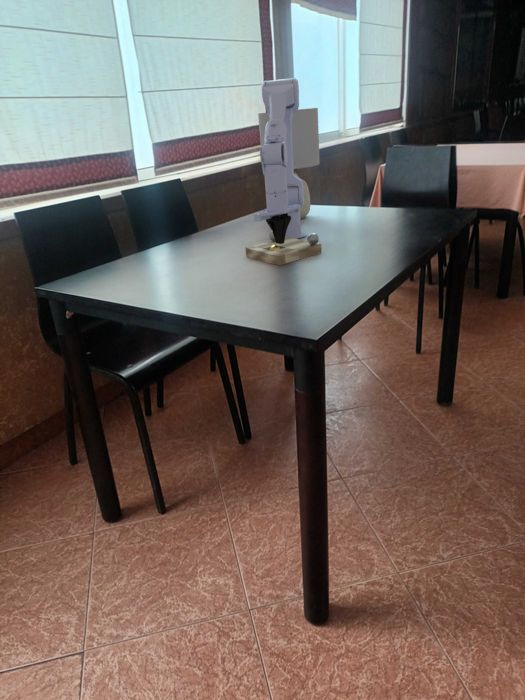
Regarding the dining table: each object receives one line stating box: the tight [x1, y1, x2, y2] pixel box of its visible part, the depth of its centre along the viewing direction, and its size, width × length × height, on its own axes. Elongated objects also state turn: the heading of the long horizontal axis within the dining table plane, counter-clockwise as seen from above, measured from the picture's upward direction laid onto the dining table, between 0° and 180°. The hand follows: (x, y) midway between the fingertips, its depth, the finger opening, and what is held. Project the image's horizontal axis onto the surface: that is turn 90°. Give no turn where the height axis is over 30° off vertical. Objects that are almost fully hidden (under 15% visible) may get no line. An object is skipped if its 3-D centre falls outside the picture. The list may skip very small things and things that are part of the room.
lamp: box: [257, 107, 321, 219], centre depth 176 cm, size 20×20×37 cm
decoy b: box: [306, 232, 320, 245], centre depth 134 cm, size 3×3×3 cm
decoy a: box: [268, 230, 275, 241], centre depth 142 cm, size 3×3×3 cm
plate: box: [244, 237, 322, 266], centre depth 137 cm, size 15×15×2 cm
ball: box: [269, 245, 280, 251], centre depth 136 cm, size 3×3×3 cm
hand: (280, 243), depth 136 cm, fingers closed
